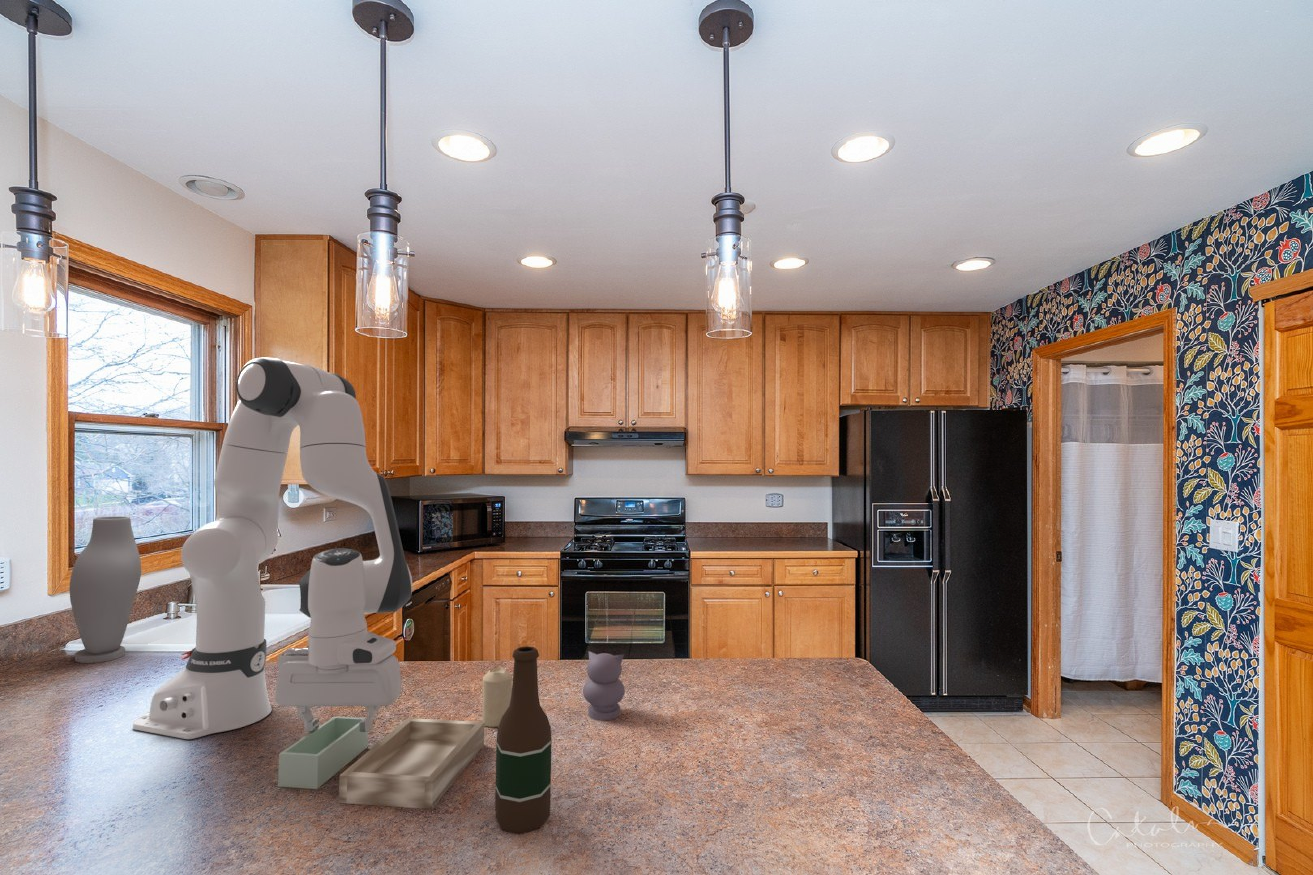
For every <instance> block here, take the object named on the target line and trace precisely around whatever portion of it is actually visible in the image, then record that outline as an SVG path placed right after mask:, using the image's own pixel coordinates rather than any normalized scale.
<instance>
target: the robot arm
mask: <svg viewBox="0 0 1313 875" xmlns="http://www.w3.org/2000/svg"><path fill="white" fill-rule="evenodd" d="M236 378H237V379H236V382H235V389H236V390H235V391H236V394H237V397H238V401H237V403H236V406H235V407H234V409H233V412H232V414H231V417H230V420H229V422H228V424H227V428H226V431H225V433H224V438H223V442H222V444H221V445H222V446H221V451H220V454H219V458H218V463H217V466H216V472H215V475H214V480H213V486H214V489H215V491H216V505H217V506H216V518H215V520H214V521H211V522H208V523H206V524H204V525H202V526H200V527H198V528H197V530H195V531H193V532H192V534H191V535H189V537H187V539H186V540H185V542H184V543H183V545H182V548H181V551H180V559H181V563H182V566H183V567H184V569H185V570H186V572H188V573H189V576H190V581H191V585H192V591H193V595H194V600H195V608H196V627H195V630H196V633H195V635H196V636H195V647H194V648H192V649H191V650H189V651H185V652H184V653H181V656H183V657H182V658H181V660H183V661H184V660H186V659H188V661H187V663H186V666H185V668H184V669H182V670H181V671H179V672H178V673H177V674H175V675H174V676H173V677H172V678H170V679H169V680H168V681H166V682H165V683H164V684H163V685H161V686H160V687H158V689H156V691H154V694H153V695H152V698H151V702H150V707H149V712H147V713H145V714H143V715H141V716H140V717H138V719H136V720H135V721H134V722H133V724H132V729H133V730H135V731H141V732H146V733H152V734H157V735H163V736H168V737H173V738H177V739H184V740H193V739H198V738H201V737H204V736H207V735H212V734H216V733H222V732H227V731H232V730H236V729H241V728H242V727H247V726H249V725H251V724H254V723H257V722H259V721H261V720H263V719H264V718H266V717H267V716H268V715H270V714H271V712H272V710H273V708H272V706H271V703H270V700H269V694H268V689H267V682H266V674H265V673H266V672H265V666H266V662H267V639H265V628H266V627H265V625H266V624H265V623H266V622H265V621H266V601H265V600H266V599H265V597H264V596H263V594H262V590H261V585H260V581H259V580H260V579H259V575H258V573H259V572H258V568H259V567H258V566H259V565H260V564H261V563H263V562H265V561H266V560H267V559H268V558H270V556H271V555H272V554H273V552H274V551H275V549H276V547H277V545H278V541H279V533H278V523H279V511H280V510H279V508H280V507H279V503H280V502H279V501H280V492H281V486H282V481H283V475H284V471H285V466H286V461H287V456H288V453H289V448H290V442H291V437H292V433H293V431H294V430H295V428H297V426H299V434H300V436H299V460H300V461H299V462H300V469H301V470H300V471H301V475H302V478H303V479H304V481H305V482H306V484H307V485H308V486H309V487H311V488H312V489H313V490H315V491H316V492H318V493H320V494H322V495H325V496H327V497H330V498H333V499H337V500H340V501H343V502H346V503H350V504H353V505H356V506H358V507H360V508H362V509H364V510H365V511H366V512H367V513H368V514H369V516H370V517H371V519H372V524H373V528H374V533H375V537H376V541H377V542H376V543H377V546H378V547H377V548H378V551H379V556H378V557H377V558H375V559H371V560H363V555H362V554H361V552H359V551H358V550H355V549H352V548H351V549H350V548H344V547H343V548H332V549H326V550H324V551H323V550H322V551H321V552H318V553H316V554H315V555H314V556H313V558H312V560H311V565H310V570H308V571H307V572H306V573H305V574H304V575H303V576H302V577H301V578H300V580H298V581H299V582H298V586H299V590H300V591H299V593H300V608H299V612H300V613H302V614H304V616H306V617H308V618H310V625H309V628H308V632H307V639H308V640H307V647H301V648H296V647H290V648H287V649H286V650H284V651H282V652H281V653H280V654H279V655H278V657H277V676H276V681H275V691H274V702H276V704H277V706H278V707H283V708H284V707H287V708H289V707H296V713H297V715H298V717H299V718H300V720H301V722H302V723H303V725H304V726H303V727H304V729H303V731H304V733H310V732H315V731H316V730H317V729H318V728H319V726H320V725H319V720H320V717H315V716H314V714H313V712H312V711H311V709H312V708H313V707H365V713H368V714H367V716H366V717H363V718H364V719H363V720H362V721H361V722H359V726H360V729H359V730H360V732H368V733H370V732H372V730H373V728H374V718H375V716H376V715H377V714H378V711H379V709H380V708H381V707H389V706H390V705H392V704H394V703H395V701H397V699H398V698H399V697H400V696H401V695H402V675H401V674H402V673H401V667H400V663H399V660H398V658H397V657H396V656H395V655H394V653H395V651H396V649H397V643H396V641H395V640H394V639H391V638H388V637H385V636H382V635H380V634H379V635H378V634H376V633H374V632H371V631H368V624H367V619H366V617H365V615H366V614H368V615H369V614H373V613H376V614H384V613H385V614H387V613H397V612H398V611H399V610H400V609H402V608H403V607H404V606H406V604H407V603H408V601H409V600H410V599H411V598H412V594H413V593H412V592H413V589H414V588H413V576H412V574H411V571H410V568H409V565H408V563H407V560H406V557H405V553H404V548H403V544H402V539H401V535H400V530H399V524H398V520H397V517H396V512H395V509H394V505H393V500H392V496H391V493H390V489H389V485H388V483H387V482H386V479H385V478H384V476H383V475H381V474H379V473H377V472H375V470H374V469H373V468H372V466H371V464H370V462H369V459H368V455H367V448H366V446H367V443H366V433H365V432H366V431H365V424H364V420H363V419H364V418H363V414H362V411H361V407H360V404H359V402H358V401H357V399H356V398H357V395H356V390H355V388H354V386H353V384H352V383H351V382H350V381H349V380H347V379H346V378H344V377H343V376H340V375H339V374H337V373H333V372H328V371H326V370H324V369H321V368H320V367H319V368H318V367H315V366H313V365H310V364H302V363H296V362H291V361H286V360H282V359H280V358H276V357H274V358H273V357H256V358H253V359H250V360H249V361H248V362H246V363H245V365H243V367H242V368H241V369H240V370H239V373H238V375H237V377H236ZM184 655H185V656H184Z"/></svg>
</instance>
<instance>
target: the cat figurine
mask: <svg viewBox="0 0 1313 875" xmlns="http://www.w3.org/2000/svg"><path fill="white" fill-rule="evenodd" d="M624 656H625V653H622V654H616V655H613V654H611V653H606V652H605V653H603V652H602V653H598V654H597V653H595V652H592V651H590V650H589V651H588V662H587V665H586V673H587V676H588V679H587V680H586V682H585V683H584V685H583V686H582V694H583V697H584V699H585V701H586V702H587V703H588V704H589V705H588V707H587V708H588V711H587V712H588V714H587V715H588V717H589V718H590V719H592V720H596V721H602V722H603V721H610V720H615V719H616V718H618V717H619V716H620V715H621V706H620V704H619V703H620V702H621V701H622V700H623V699H624V696H625V693H626V690H625V689H626V688H625V685H624V683H623V682H622V680H621V679H620V678H621V677H620V676H622V670H623V666H622V663H623V659H624Z"/></svg>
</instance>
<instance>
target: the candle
mask: <svg viewBox="0 0 1313 875" xmlns="http://www.w3.org/2000/svg"><path fill="white" fill-rule="evenodd" d="M512 683H513V674H511V672H509V671H508V670H507V669H506V668H505V667H495V668H490V669H489V670H488V671H487V673H485V675H484V676H483V677H482V706H481V711H482V713H481V718H482V719H481V720H482V721H481V722H484V727H485V726H486V727H489V728H498V726H499V724H500V721H501V718H502V716H503V715H504V713H505V712H506V710H507V709H508V707H509V705H510V700H511V695H512Z"/></svg>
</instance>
